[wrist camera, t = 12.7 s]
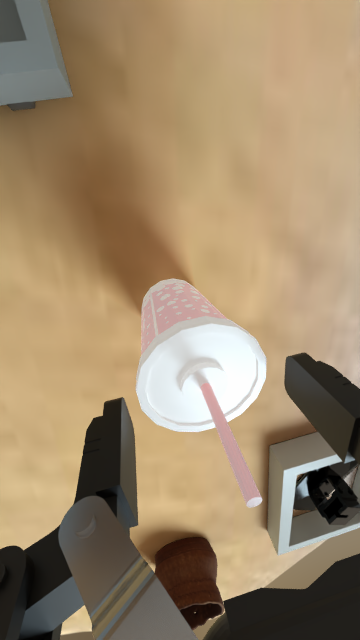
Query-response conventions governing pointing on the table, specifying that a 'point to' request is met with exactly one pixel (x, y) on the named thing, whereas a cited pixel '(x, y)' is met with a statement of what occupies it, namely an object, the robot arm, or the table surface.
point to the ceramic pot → (190, 579)
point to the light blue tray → (30, 55)
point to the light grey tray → (282, 482)
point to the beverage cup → (198, 369)
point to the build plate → (319, 487)
